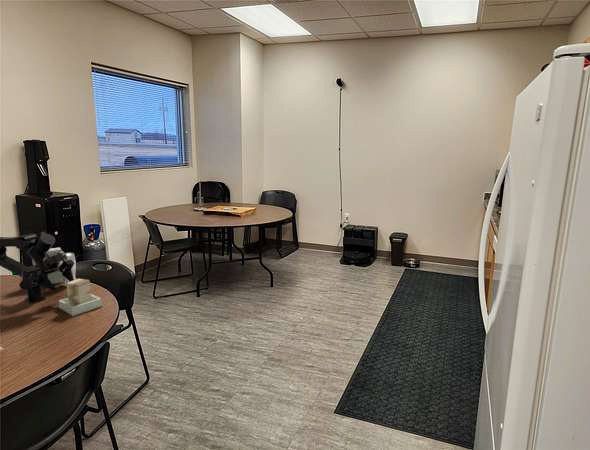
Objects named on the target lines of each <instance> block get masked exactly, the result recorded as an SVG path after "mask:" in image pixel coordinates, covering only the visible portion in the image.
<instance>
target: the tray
mask: <svg viewBox="0 0 590 450" xmlns="http://www.w3.org/2000/svg"><path fill="white" fill-rule="evenodd" d="M91 299H92V301H89V302H86V303H83V304H80V305H76V306H71V305H70V304H69V301H68V297H66V298H62V299H59V300H58V306H59V309H60V310H62V311H63V312H65V313H66V314H68V315H70V316H72V317H74V316H77V315H80V314H83V313H87V312H90V311H92V310H96V309H100V308H103V301H102V298H101V297H99V296H97V295H94V294H92V293H91Z"/></svg>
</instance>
